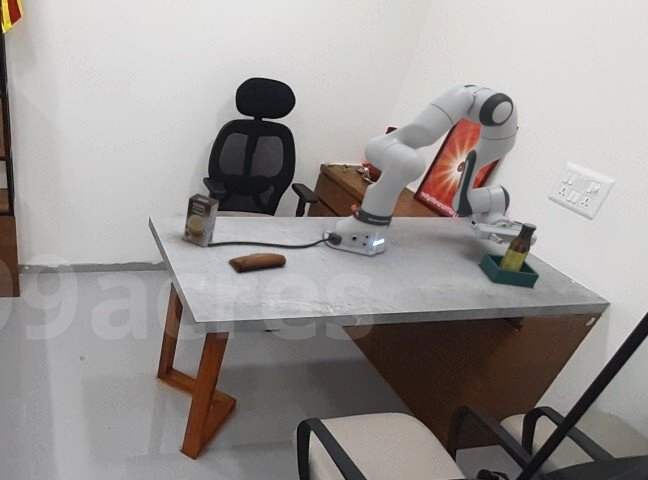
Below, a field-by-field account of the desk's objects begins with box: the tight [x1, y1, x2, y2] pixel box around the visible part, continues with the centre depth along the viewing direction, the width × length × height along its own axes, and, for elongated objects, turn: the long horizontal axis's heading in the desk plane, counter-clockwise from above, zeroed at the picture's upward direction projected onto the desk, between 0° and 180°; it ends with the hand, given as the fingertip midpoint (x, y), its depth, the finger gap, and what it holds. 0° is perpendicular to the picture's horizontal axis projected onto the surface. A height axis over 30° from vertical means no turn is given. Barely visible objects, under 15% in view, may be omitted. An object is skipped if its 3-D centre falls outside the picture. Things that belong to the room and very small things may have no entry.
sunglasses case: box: [229, 252, 287, 273], centre depth 174 cm, size 18×7×7 cm, turn 113°
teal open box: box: [478, 252, 540, 289], centre depth 184 cm, size 14×13×5 cm
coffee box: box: [183, 193, 220, 248], centre depth 182 cm, size 9×6×16 cm
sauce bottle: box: [499, 222, 538, 272], centre depth 180 cm, size 6×6×20 cm
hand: (513, 244), depth 183 cm, fingers open, 8 cm apart
